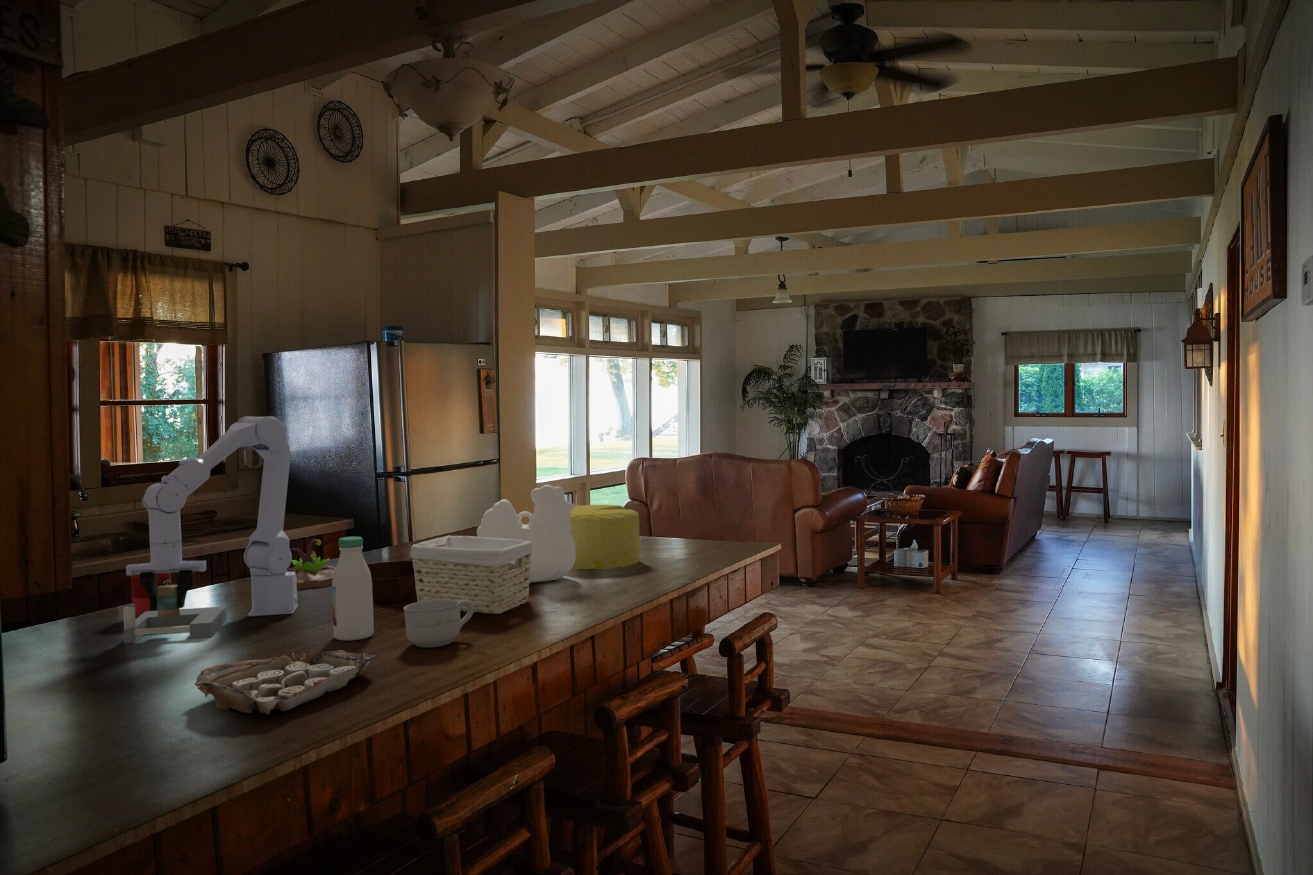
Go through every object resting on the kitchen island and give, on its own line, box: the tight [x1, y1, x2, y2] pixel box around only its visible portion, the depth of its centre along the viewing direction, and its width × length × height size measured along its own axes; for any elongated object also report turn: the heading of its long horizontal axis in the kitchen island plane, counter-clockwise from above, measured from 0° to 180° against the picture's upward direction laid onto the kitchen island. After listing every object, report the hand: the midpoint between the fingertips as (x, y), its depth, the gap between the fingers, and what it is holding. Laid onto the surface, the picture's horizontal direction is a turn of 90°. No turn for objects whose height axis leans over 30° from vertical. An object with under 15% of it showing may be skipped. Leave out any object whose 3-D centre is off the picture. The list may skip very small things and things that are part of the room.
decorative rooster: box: [476, 484, 576, 584], centre depth 242 cm, size 25×16×25 cm, turn 75°
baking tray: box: [193, 649, 377, 715], centre depth 155 cm, size 30×22×5 cm
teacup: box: [403, 599, 475, 649], centre depth 183 cm, size 14×11×8 cm
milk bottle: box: [331, 536, 375, 642], centre depth 188 cm, size 8×8×20 cm
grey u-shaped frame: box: [123, 605, 228, 644], centre depth 195 cm, size 16×16×7 cm
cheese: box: [570, 504, 641, 570], centre depth 268 cm, size 26×26×15 cm
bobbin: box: [156, 584, 181, 618], centre depth 192 cm, size 4×4×6 cm
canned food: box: [130, 569, 172, 619], centre depth 209 cm, size 8×8×11 cm
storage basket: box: [409, 534, 533, 615], centre depth 215 cm, size 24×16×15 cm
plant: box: [287, 538, 336, 591], centre depth 246 cm, size 20×20×11 cm
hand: (168, 607), depth 192 cm, fingers closed on bobbin, 4 cm apart
